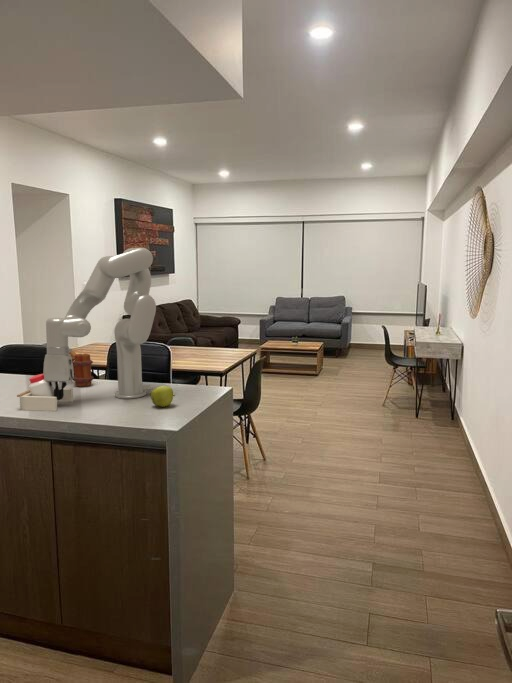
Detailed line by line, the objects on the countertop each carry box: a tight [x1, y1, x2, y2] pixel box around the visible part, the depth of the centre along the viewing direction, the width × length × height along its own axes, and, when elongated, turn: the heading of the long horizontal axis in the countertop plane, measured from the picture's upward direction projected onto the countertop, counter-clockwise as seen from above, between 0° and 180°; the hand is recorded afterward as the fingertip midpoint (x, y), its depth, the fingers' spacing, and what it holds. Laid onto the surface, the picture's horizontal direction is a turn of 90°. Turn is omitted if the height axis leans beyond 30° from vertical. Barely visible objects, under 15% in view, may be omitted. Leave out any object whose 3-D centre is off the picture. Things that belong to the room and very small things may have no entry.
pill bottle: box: [28, 373, 54, 397], centre depth 192 cm, size 8×8×11 cm
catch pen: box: [16, 388, 74, 412], centre depth 193 cm, size 14×14×6 cm
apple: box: [150, 385, 176, 408], centre depth 191 cm, size 8×9×8 cm
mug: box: [68, 350, 95, 388], centre depth 227 cm, size 15×8×15 cm, turn 58°
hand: (58, 399), depth 192 cm, fingers closed
